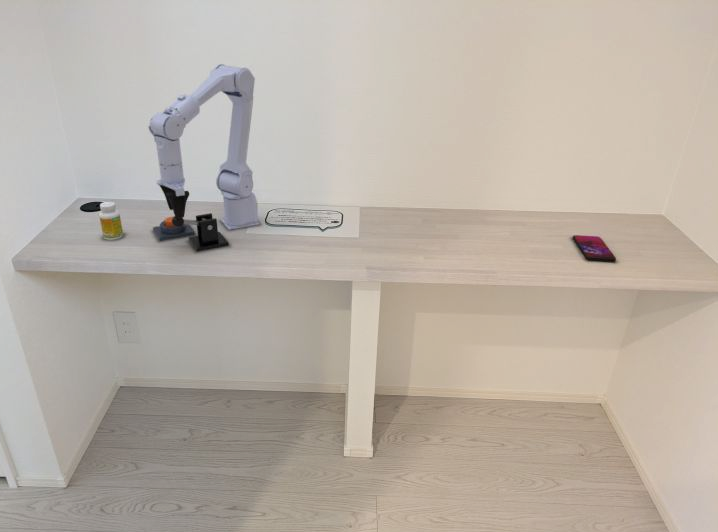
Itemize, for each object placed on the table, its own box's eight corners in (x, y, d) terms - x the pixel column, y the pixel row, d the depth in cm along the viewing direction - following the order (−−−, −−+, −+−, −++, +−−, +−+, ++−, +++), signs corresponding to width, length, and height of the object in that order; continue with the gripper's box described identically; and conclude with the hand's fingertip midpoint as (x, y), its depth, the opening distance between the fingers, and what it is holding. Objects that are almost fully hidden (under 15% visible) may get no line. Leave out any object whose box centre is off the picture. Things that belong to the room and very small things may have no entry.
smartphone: (599, 236, 165) (617, 259, 152) (599, 239, 166) (616, 262, 153) (572, 234, 166) (587, 257, 153) (571, 237, 166) (586, 260, 153)
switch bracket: (196, 252, 155) (194, 225, 151) (188, 241, 162) (185, 215, 158) (228, 246, 159) (226, 220, 155) (219, 235, 165) (217, 209, 161)
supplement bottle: (117, 241, 161) (111, 208, 156) (99, 239, 162) (93, 206, 157) (126, 233, 165) (121, 201, 160) (109, 231, 166) (103, 199, 161)
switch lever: (172, 228, 152) (174, 217, 150) (169, 224, 154) (171, 213, 153) (212, 231, 157) (214, 220, 156) (208, 227, 160) (210, 216, 158)
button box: (187, 225, 171) (186, 215, 169) (194, 235, 165) (193, 225, 163) (153, 231, 167) (151, 221, 165) (159, 241, 161) (158, 231, 159)
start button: (177, 221, 167) (177, 215, 166) (181, 226, 164) (180, 220, 163) (164, 223, 165) (163, 217, 164) (167, 228, 162) (166, 223, 161)
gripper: (148, 156, 149) (155, 206, 156) (161, 173, 138) (168, 225, 145) (175, 153, 152) (181, 202, 159) (190, 169, 141) (195, 221, 147)
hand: (176, 213), depth 152 cm, fingers open, 6 cm apart
